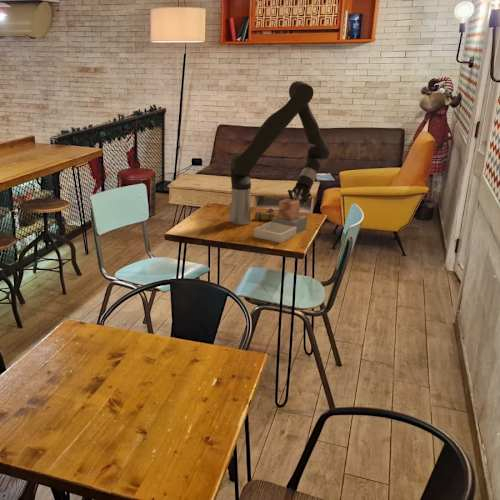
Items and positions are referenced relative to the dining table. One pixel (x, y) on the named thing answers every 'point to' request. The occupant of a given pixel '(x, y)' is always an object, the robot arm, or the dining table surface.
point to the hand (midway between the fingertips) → (292, 209)
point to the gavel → (265, 215)
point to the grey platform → (293, 222)
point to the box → (275, 232)
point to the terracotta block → (289, 209)
